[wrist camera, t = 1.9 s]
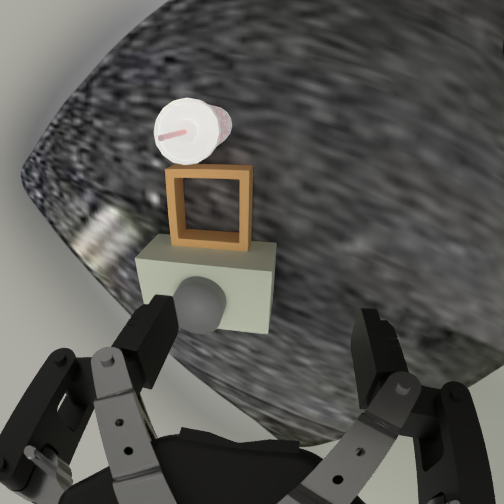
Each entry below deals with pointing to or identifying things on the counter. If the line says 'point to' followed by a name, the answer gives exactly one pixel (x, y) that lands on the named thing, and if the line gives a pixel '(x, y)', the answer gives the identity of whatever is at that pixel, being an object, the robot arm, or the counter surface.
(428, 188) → the counter surface
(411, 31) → the counter surface
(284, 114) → the counter surface
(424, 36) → the counter surface
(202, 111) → the beverage cup
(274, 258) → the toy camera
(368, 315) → the robot arm
